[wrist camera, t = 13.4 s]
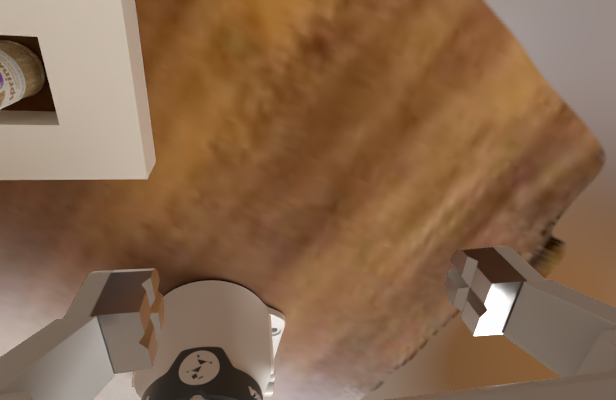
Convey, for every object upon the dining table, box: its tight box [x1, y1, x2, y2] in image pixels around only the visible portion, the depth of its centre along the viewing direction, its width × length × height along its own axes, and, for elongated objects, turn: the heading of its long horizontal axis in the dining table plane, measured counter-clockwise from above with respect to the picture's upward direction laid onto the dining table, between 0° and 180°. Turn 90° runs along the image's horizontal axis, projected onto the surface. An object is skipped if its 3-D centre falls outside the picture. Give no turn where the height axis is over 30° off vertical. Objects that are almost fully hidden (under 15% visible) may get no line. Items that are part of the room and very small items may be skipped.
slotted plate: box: [0, 0, 156, 180], centre depth 29 cm, size 16×18×4 cm
